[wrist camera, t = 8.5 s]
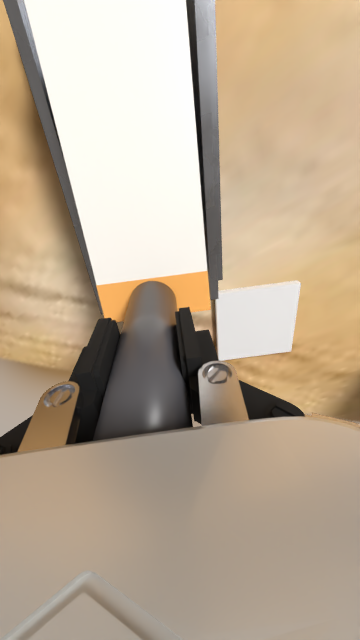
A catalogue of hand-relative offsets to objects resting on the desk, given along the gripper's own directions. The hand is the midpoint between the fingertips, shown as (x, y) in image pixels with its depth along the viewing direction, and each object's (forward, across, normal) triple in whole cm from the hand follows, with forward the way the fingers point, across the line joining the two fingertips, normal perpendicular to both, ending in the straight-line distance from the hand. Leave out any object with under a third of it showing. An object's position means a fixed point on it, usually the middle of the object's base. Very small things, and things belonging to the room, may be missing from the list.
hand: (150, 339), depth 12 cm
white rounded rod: (+4, 0, 0) cm, 4 cm away
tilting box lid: (+6, 0, -7) cm, 9 cm away
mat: (+14, -10, +9) cm, 19 cm away
